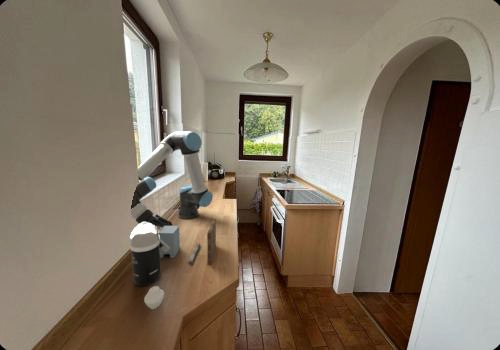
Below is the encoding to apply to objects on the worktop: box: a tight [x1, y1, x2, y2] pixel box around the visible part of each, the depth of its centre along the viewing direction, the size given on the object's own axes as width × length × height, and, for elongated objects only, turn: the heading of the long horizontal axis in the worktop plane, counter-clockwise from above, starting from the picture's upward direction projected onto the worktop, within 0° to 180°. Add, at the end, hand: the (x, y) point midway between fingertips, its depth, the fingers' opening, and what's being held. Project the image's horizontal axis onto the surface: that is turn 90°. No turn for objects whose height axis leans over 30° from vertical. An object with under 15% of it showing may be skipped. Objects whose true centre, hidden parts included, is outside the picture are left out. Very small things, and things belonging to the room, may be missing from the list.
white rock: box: [143, 285, 165, 310], centre depth 63 cm, size 6×6×7 cm
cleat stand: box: [188, 218, 217, 266], centre depth 92 cm, size 16×10×16 cm, turn 2°
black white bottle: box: [129, 221, 162, 287], centre depth 74 cm, size 10×10×25 cm
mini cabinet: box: [158, 225, 181, 259], centre depth 93 cm, size 8×8×13 cm
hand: (173, 242), depth 93 cm, fingers open, 13 cm apart
